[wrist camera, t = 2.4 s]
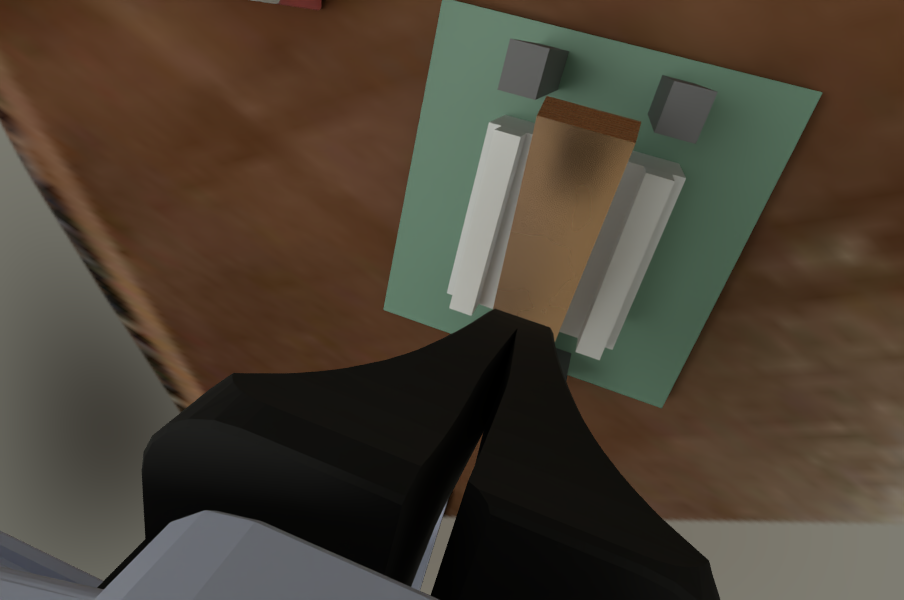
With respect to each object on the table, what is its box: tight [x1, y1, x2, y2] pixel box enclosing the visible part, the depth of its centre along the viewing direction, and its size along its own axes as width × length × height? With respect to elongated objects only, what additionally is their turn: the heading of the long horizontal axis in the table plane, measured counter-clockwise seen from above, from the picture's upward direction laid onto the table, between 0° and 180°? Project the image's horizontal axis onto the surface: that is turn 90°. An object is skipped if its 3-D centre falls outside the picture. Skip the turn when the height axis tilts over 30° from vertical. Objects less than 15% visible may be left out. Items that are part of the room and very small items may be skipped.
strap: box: [493, 96, 641, 342], centre depth 15 cm, size 10×2×1 cm, turn 166°
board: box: [383, 0, 822, 408], centre depth 18 cm, size 12×12×6 cm
